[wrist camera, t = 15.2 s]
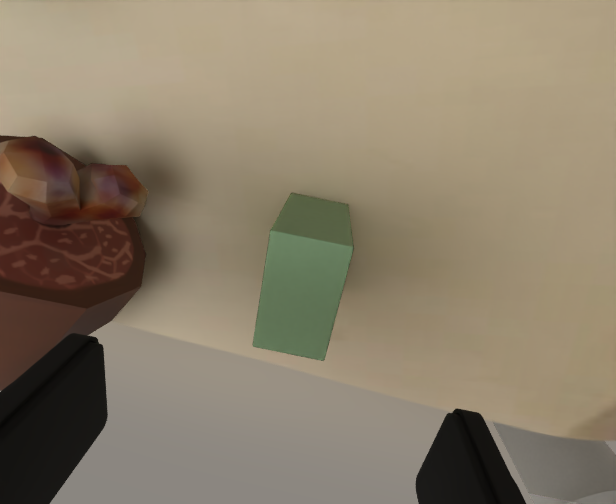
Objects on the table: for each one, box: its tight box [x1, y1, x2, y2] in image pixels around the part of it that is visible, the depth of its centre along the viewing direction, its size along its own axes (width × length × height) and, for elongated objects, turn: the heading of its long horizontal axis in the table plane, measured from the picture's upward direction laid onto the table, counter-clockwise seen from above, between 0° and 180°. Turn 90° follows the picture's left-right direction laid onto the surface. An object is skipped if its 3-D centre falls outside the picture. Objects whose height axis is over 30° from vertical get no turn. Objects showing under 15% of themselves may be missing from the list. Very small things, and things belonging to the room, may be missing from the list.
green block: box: [253, 193, 354, 361], centre depth 18 cm, size 6×4×7 cm, turn 169°
